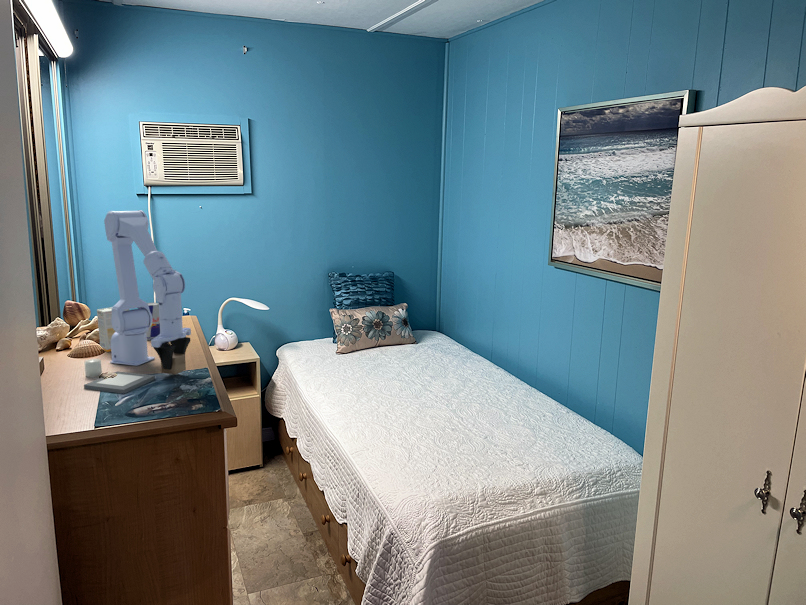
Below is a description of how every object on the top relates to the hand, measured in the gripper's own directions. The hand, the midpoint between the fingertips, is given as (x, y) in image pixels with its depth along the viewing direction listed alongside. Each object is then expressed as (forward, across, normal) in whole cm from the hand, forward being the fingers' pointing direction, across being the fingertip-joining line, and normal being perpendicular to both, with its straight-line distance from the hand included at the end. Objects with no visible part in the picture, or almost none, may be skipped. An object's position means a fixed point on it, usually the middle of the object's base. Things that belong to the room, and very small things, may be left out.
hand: (173, 366), depth 164 cm
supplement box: (+3, +18, +34) cm, 39 cm away
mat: (+3, -10, +9) cm, 14 cm away
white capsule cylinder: (+3, -6, +21) cm, 22 cm away
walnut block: (+1, 0, 0) cm, 1 cm away
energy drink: (+3, +32, +31) cm, 45 cm away
